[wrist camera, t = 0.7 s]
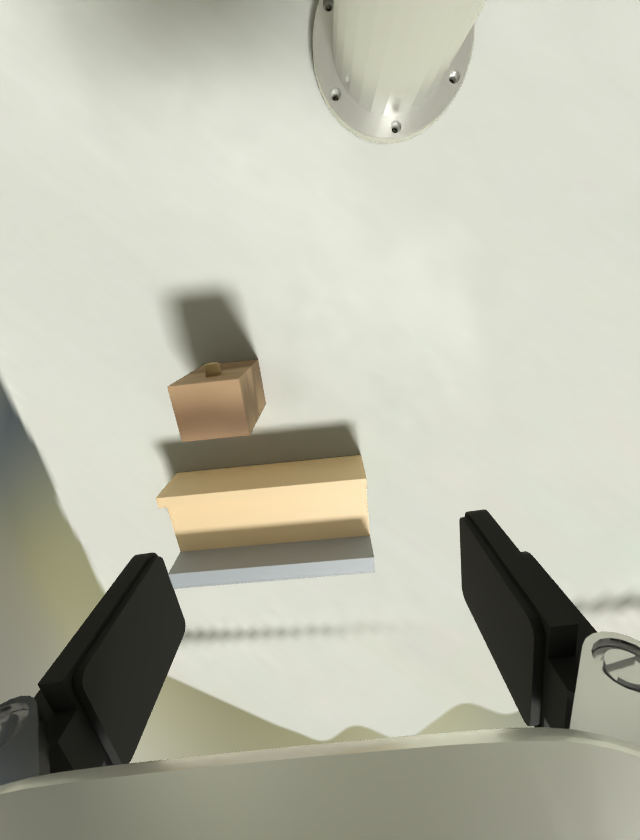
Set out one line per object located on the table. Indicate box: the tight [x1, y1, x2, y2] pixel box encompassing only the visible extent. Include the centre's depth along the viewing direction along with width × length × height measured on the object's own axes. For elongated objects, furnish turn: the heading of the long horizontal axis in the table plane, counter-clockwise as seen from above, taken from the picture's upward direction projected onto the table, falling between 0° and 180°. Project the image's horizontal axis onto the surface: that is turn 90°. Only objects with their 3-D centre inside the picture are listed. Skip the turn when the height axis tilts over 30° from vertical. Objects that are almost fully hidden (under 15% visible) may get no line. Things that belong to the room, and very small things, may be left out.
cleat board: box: [156, 455, 375, 589], centre depth 39 cm, size 10×22×8 cm, turn 96°
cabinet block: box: [168, 359, 266, 442], centre depth 34 cm, size 6×6×9 cm
